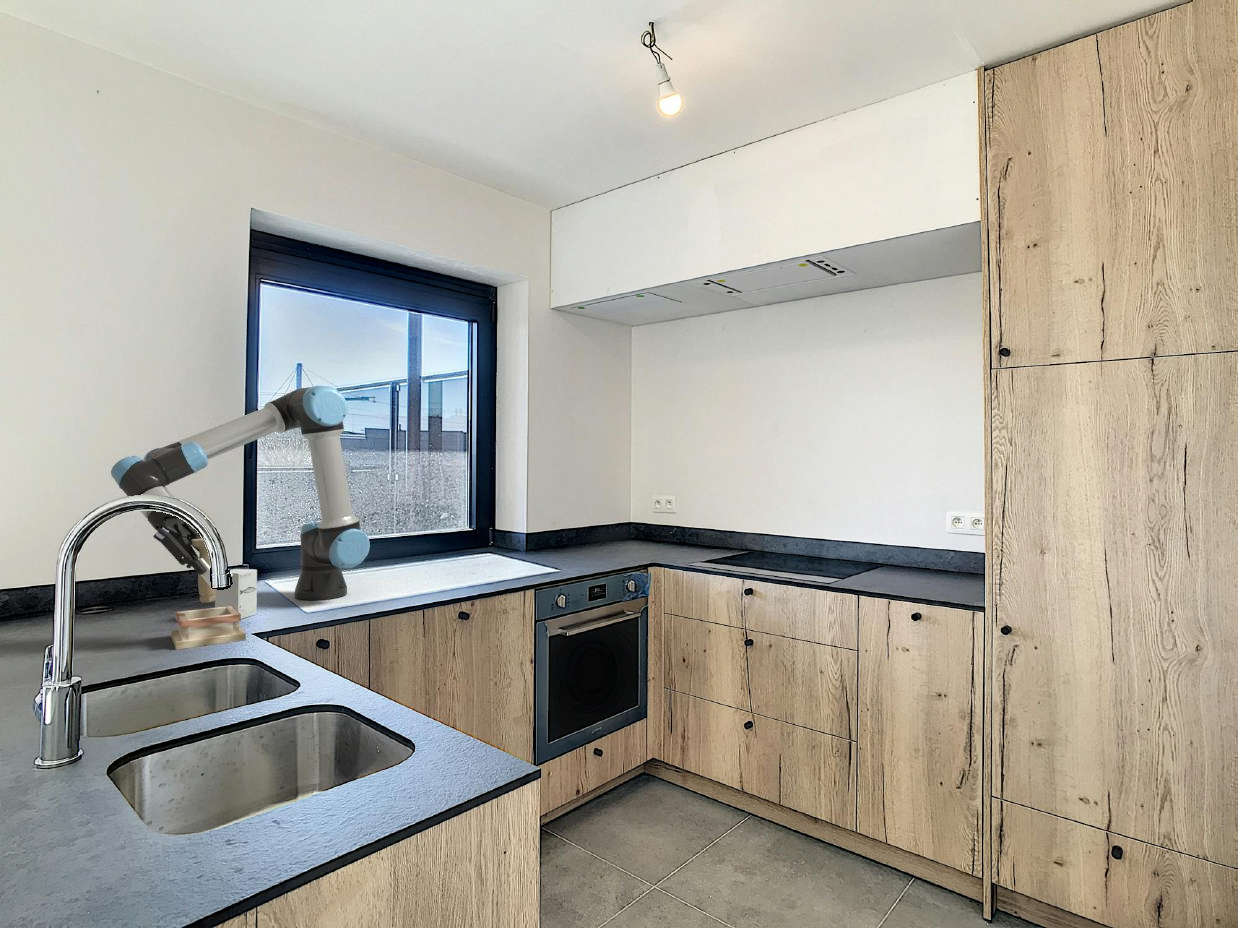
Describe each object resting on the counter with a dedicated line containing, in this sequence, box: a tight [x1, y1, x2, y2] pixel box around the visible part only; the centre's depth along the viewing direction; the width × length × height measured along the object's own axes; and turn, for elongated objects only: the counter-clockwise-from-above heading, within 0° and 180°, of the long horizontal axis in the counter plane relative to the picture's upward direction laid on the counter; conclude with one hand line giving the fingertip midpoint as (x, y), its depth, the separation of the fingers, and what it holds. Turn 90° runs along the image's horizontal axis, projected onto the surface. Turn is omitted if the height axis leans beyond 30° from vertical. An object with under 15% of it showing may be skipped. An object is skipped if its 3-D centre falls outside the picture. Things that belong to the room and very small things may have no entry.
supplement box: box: [214, 568, 258, 620], centre depth 188 cm, size 7×7×13 cm
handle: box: [191, 537, 224, 604], centre depth 166 cm, size 5×6×15 cm
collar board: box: [170, 606, 247, 650], centre depth 166 cm, size 14×14×6 cm
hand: (221, 580), depth 165 cm, fingers closed on handle, 4 cm apart
